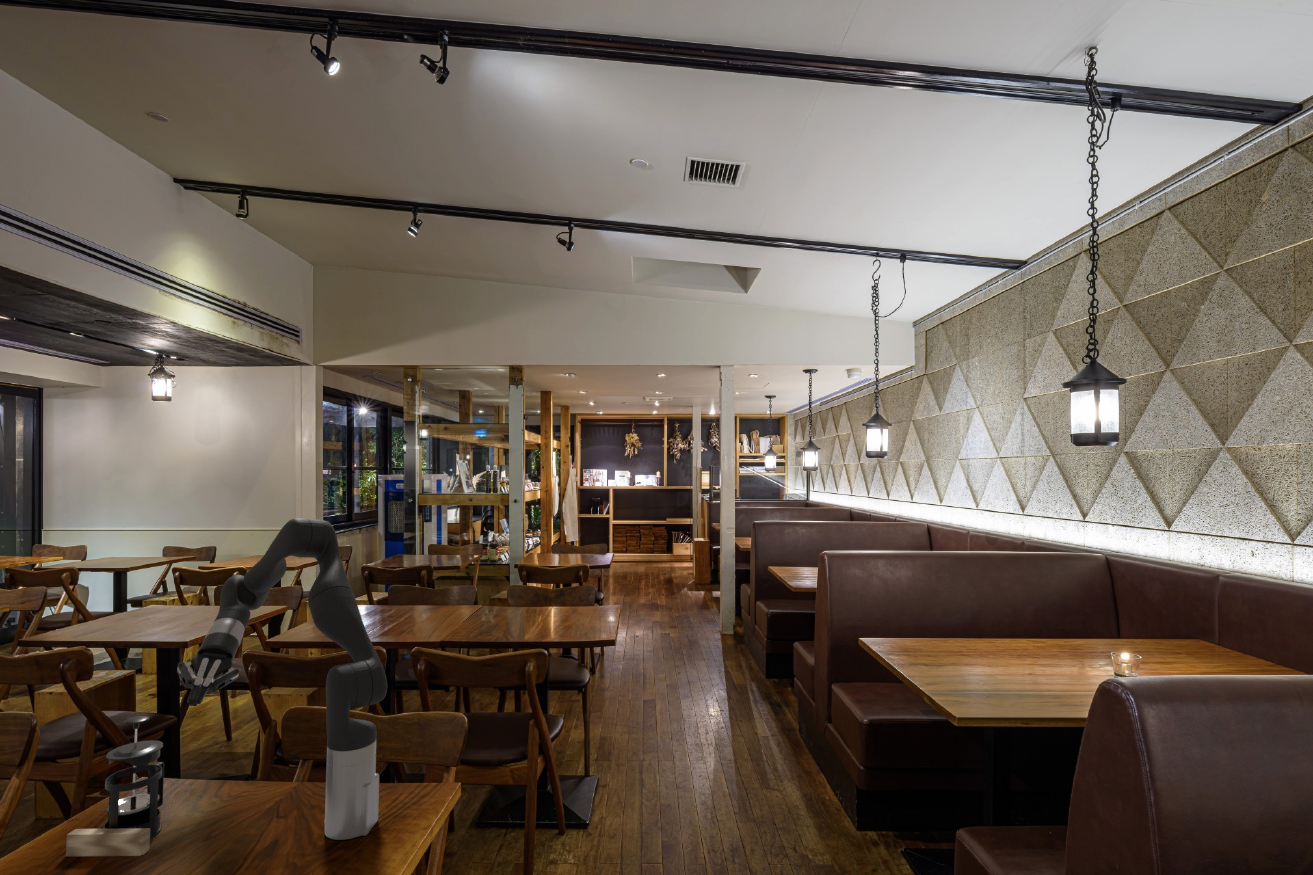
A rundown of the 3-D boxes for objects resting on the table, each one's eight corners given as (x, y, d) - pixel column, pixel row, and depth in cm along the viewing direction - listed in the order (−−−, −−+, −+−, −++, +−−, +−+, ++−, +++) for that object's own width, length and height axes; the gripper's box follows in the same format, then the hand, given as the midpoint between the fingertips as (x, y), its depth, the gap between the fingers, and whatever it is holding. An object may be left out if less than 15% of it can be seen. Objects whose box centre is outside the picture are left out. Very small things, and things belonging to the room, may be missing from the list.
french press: (130, 852, 126) (135, 729, 127) (84, 850, 127) (89, 727, 128) (179, 819, 138) (183, 707, 139) (137, 817, 139) (141, 706, 140)
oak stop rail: (149, 849, 127) (150, 828, 127) (141, 855, 125) (142, 833, 125) (74, 850, 127) (75, 828, 127) (65, 856, 125) (66, 834, 125)
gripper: (192, 626, 156) (159, 688, 141) (255, 635, 161) (229, 696, 146) (188, 647, 159) (156, 710, 145) (249, 656, 164) (224, 717, 149)
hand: (193, 703), depth 146 cm, fingers closed
